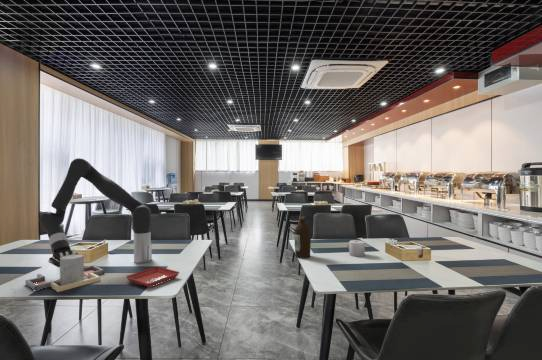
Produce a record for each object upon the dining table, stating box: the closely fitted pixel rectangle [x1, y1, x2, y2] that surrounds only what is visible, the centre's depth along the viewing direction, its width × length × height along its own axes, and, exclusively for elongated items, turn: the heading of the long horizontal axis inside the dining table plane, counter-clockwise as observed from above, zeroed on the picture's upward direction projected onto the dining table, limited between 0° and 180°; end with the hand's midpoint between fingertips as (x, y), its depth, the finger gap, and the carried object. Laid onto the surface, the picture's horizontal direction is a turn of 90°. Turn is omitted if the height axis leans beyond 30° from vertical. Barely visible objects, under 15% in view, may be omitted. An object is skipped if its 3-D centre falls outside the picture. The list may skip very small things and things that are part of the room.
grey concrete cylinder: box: [59, 253, 85, 286], centre depth 140 cm, size 10×10×12 cm
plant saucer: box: [125, 266, 180, 288], centre depth 143 cm, size 18×18×3 cm
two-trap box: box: [25, 264, 105, 293], centre depth 144 cm, size 29×29×2 cm
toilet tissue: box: [346, 239, 366, 258], centre depth 189 cm, size 9×13×9 cm
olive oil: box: [293, 216, 312, 259], centre depth 184 cm, size 11×11×25 cm
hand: (68, 272), depth 144 cm, fingers closed
